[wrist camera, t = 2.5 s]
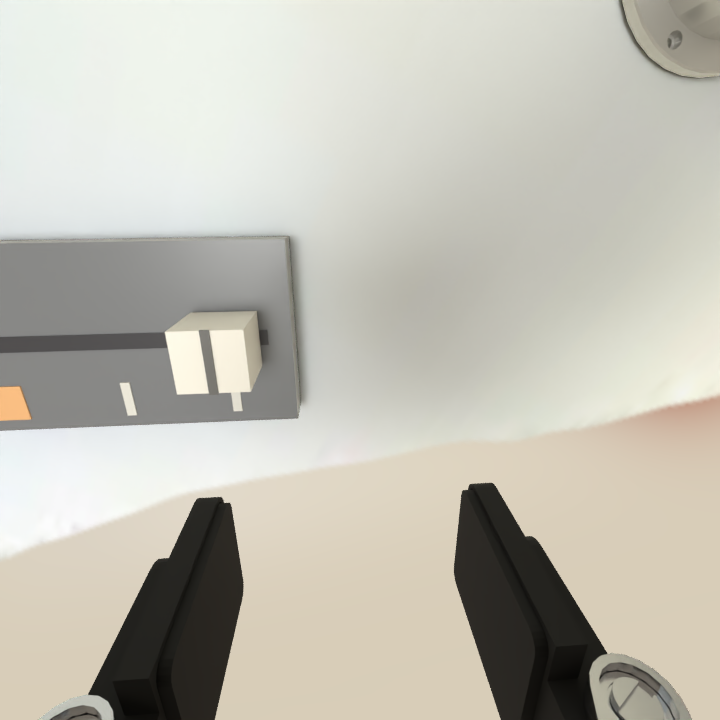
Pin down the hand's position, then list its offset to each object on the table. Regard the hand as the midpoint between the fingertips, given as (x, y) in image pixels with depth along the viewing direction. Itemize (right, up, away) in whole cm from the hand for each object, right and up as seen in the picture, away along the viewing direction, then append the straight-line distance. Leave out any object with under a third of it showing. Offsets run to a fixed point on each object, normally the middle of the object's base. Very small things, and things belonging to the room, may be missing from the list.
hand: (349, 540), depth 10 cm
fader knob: (-8, +6, +15) cm, 18 cm away
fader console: (-15, +7, +17) cm, 24 cm away
